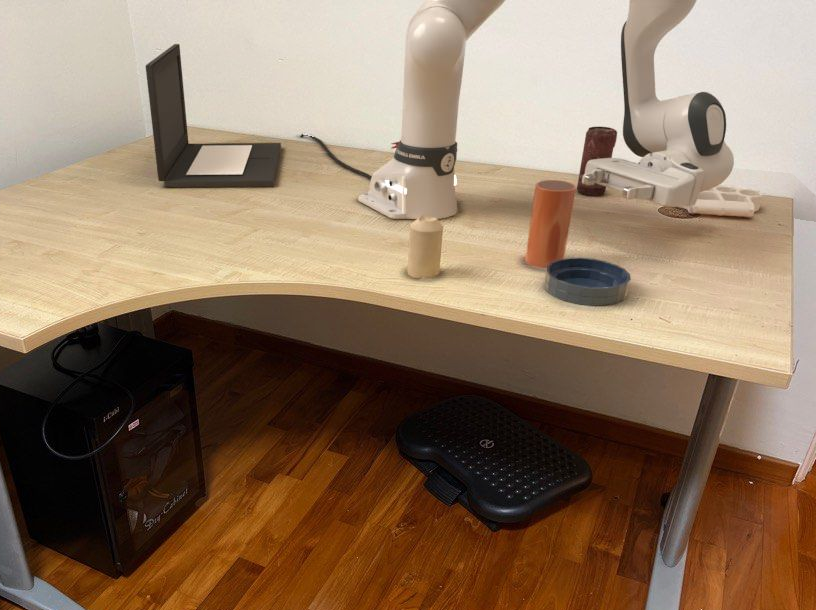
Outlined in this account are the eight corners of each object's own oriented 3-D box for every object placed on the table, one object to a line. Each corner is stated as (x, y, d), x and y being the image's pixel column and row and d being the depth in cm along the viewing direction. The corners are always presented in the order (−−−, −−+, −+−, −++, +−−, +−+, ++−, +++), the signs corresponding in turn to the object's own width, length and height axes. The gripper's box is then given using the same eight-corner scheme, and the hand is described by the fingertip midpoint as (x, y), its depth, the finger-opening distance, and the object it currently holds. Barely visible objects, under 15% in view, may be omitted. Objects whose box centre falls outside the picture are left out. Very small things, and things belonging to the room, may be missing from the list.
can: (607, 197, 169) (620, 132, 161) (577, 195, 170) (588, 131, 163) (604, 189, 174) (616, 126, 167) (575, 188, 175) (585, 125, 168)
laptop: (273, 187, 178) (268, 63, 164) (158, 187, 178) (144, 65, 165) (281, 148, 210) (277, 42, 196) (183, 149, 210) (173, 43, 197)
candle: (404, 268, 134) (407, 213, 129) (435, 267, 134) (439, 211, 129) (410, 280, 129) (414, 223, 124) (442, 279, 130) (447, 222, 125)
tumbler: (517, 262, 136) (527, 184, 129) (540, 253, 139) (551, 177, 132) (547, 273, 131) (560, 193, 124) (570, 264, 135) (584, 185, 128)
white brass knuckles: (673, 215, 157) (663, 195, 169) (769, 222, 153) (751, 200, 165) (677, 199, 155) (666, 180, 168) (774, 205, 152) (756, 185, 164)
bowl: (527, 289, 126) (530, 270, 124) (574, 270, 132) (578, 252, 131) (595, 315, 117) (599, 295, 115) (642, 294, 124) (646, 274, 122)
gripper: (619, 146, 146) (565, 155, 141) (712, 172, 130) (655, 183, 125) (613, 179, 149) (559, 189, 144) (702, 208, 134) (646, 220, 128)
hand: (604, 186), depth 134 cm, fingers open, 8 cm apart
